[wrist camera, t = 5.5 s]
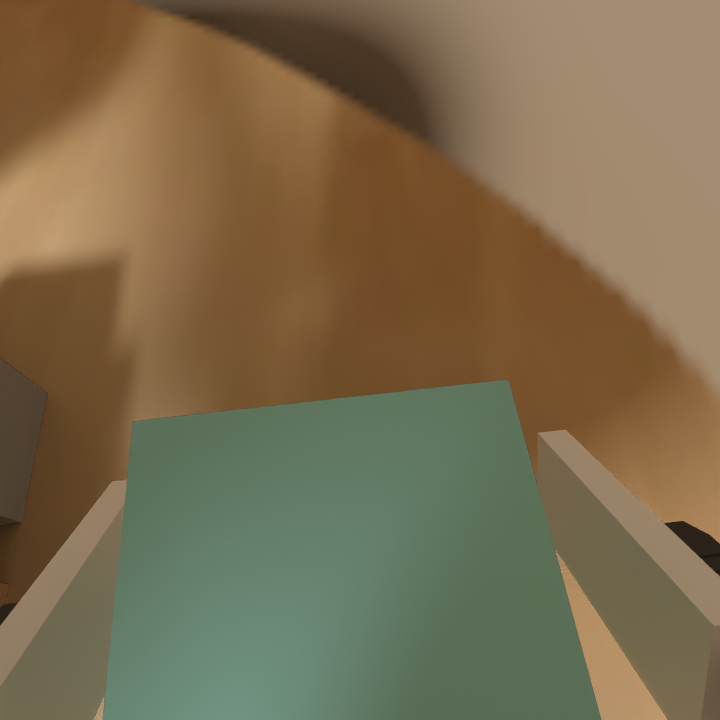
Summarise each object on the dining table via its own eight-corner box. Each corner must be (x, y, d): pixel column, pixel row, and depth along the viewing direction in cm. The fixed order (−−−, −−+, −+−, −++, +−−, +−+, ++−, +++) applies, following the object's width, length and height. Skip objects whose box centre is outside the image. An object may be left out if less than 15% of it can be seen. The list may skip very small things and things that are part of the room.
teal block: (286, 731, 15) (77, 964, 4) (280, 550, 17) (132, 420, 7) (456, 708, 15) (645, 882, 5) (427, 533, 18) (508, 379, 7)
